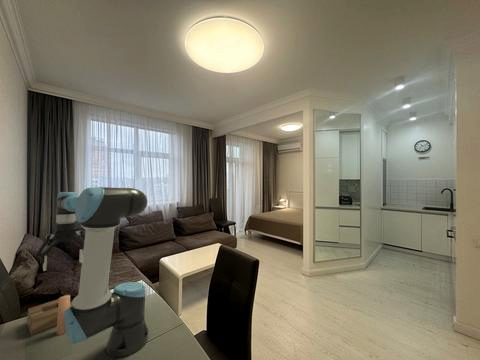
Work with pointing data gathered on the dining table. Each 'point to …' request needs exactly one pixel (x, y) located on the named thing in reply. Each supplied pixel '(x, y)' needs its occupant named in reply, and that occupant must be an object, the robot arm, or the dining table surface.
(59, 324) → the peg
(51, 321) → the socket block
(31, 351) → the dining table surface
